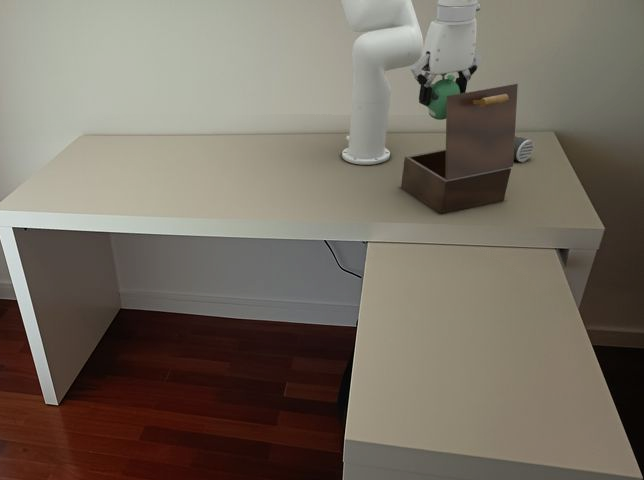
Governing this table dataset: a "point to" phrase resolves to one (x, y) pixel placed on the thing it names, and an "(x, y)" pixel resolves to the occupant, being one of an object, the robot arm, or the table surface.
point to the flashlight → (522, 148)
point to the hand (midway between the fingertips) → (441, 100)
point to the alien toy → (442, 96)
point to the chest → (450, 184)
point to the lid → (480, 131)
